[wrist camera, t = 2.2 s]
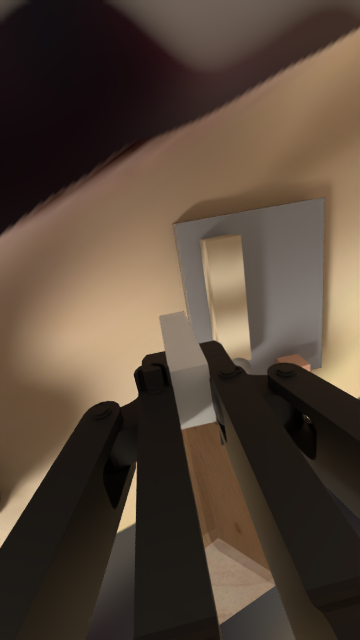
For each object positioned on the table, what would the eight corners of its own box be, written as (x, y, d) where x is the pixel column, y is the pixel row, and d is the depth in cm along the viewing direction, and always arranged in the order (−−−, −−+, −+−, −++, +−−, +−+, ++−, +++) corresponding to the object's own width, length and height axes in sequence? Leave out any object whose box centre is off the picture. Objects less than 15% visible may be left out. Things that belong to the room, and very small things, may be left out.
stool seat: (198, 382, 40) (208, 407, 34) (172, 223, 32) (179, 224, 27) (309, 357, 41) (335, 378, 36) (309, 199, 34) (343, 194, 28)
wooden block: (183, 391, 40) (220, 538, 21) (225, 428, 43) (289, 583, 25) (134, 434, 41) (129, 607, 23) (178, 466, 45) (206, 640, 26)
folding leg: (242, 364, 36) (253, 378, 33) (217, 369, 36) (224, 384, 33) (230, 233, 30) (240, 235, 27) (199, 239, 30) (206, 241, 27)
